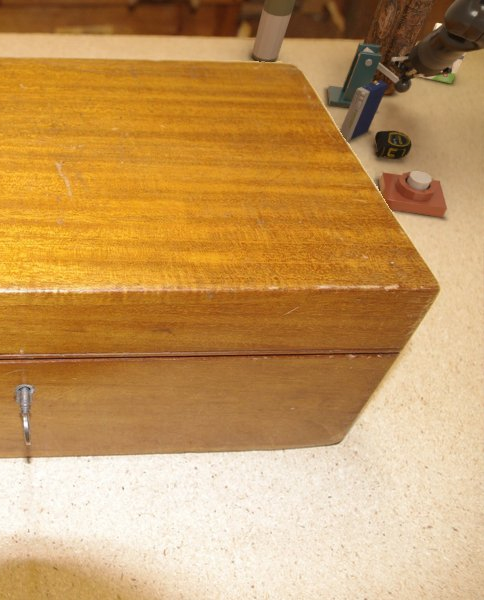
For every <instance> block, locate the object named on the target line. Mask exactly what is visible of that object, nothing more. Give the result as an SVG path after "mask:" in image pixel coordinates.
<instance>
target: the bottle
mask: <svg viewBox="0 0 484 600" xmlns="http://www.w3.org/2000/svg"><path fill="white" fill-rule="evenodd" d="M296 2H297V0H264V2H263V7H262V11H261V15H260V19H259V23H258V27H257V31H256V35H255V40H254V43H253V48H252V58H253V59H254V60H255V61H258V62H260V61H265V62H270V63H274V62H275V61H277V59H278V57H279V55H280V51H281V48H282V45H283V41H284V38H285V35H286V33H287V29H288V26H289V24H290V19H291V17H292V13H293V10H294V7H295V4H296ZM265 62H264V63H265Z"/></svg>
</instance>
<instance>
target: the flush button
mask: <svg viewBox="0 0 484 600" xmlns="http://www.w3.org/2000/svg"><path fill="white" fill-rule="evenodd" d="M410 172H411V173H410V175H409V177H408V179H407V181H406V182H407V184H408V185H409V186H410V187H412V188H415V189H418V190H426V189H427V188H428V186H429V185H430V183H431V181H432V180H433V178H432V176H431V175H429V174H428V173H427V172H425V171H422V170H413V171H410Z"/></svg>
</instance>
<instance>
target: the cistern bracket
mask: <svg viewBox="0 0 484 600" xmlns="http://www.w3.org/2000/svg"><path fill="white" fill-rule="evenodd" d="M366 47H368V48H369V49H370V50H372V51H373V52H374V53H371V52H363V50H364V49H365V48H366ZM379 49H380V45H374V44H366V43H363V42H359V43H358V45H357V48H356V50H355V53H354V56H353V58H352V61H351V63H350V65H349V69H348V71H347V73H346V76H345V79H344V81H343V85H342V86H338V85H337V86H336V85H328V87H327V99H328V106H331V107H338V108H346V109H349V107H350V105H351V102H352V100H353V97H354V94H355V92H356V89H358V88H360V87H363V86H365V85H368V84H370V83H371V81H372V79H373V76H374V74H375V72H376V69H377V67H378V64H379V62H380V59H381V57H382V54H379V53H378V51H379ZM359 54H360V55H359ZM358 55H359V56H358Z"/></svg>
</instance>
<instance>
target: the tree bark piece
mask: <svg viewBox="0 0 484 600" xmlns="http://www.w3.org/2000/svg"><path fill="white" fill-rule="evenodd" d="M435 3H436V0H378V2H377V5H376V9H375V12H374V14H373V17H372V18H371V21H370V24H369V27H368V29H367V31H366V35H365V37H364V40H363V42H362V43H366V44H374V45H380V49H379V51H378V53H379V54H382V57H381V59H380V63H381V64H382V65H383V66H385V67H386V68H387V69H388V70H390V71H391V72H392V73H393V74H395V75H396V76H397V77H398V78H399V77H401V74H399V73H397V72H396V71H395V70H394V69H393V68H392V67H391V66H390V63H391V58H392V54H394V53H397V54H399V55H402V56H404V55H405V54H406V53H409V52H411V51H412V50H413V48H414V47H415V46H416V45H417V44H418V40H419V38H420V36H421V34H422V32H423V29H424V26H425V24H426V22H427V20H428V18H429V15H430V13H431V11H432V8H433V6H434V4H435ZM377 80H381V81H383V82H385V83H386V84H388V85H387V88H386V90H385V92H384V95H383V97H388V96H393V95H394V94H395V93H396V91H395V90H394V82H393V81H392V80H391V79H390V78H388V77H387V76H386V75H385V74H383V73H382V72H381V71H380V70H378V69H376V72H375V74H374V76H373V79H372V81H371V83H373V82H374V81H377Z"/></svg>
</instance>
